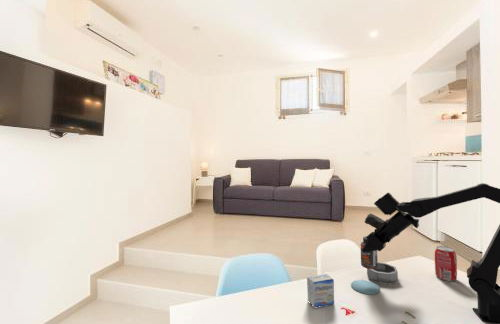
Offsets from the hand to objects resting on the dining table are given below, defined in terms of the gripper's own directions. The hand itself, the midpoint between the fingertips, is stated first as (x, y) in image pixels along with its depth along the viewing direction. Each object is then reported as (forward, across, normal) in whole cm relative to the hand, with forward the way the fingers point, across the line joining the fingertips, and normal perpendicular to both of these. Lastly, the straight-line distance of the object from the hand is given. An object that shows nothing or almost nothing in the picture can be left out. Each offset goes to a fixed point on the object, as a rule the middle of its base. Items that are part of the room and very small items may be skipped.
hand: (365, 248), depth 99 cm
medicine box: (+15, +24, +4) cm, 29 cm away
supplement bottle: (+4, 0, +6) cm, 7 cm away
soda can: (-7, -23, +27) cm, 36 cm away
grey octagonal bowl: (+7, -9, +12) cm, 16 cm away
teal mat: (+9, +4, +10) cm, 14 cm away
